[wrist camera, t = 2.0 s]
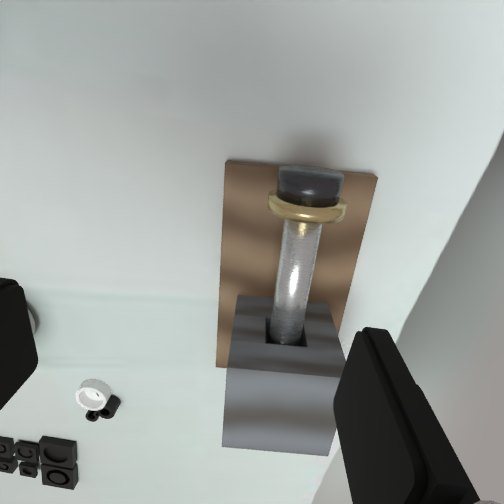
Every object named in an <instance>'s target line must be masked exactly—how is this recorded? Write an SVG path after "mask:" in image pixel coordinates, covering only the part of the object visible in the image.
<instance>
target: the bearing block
mask: <svg viewBox="0 0 504 504" xmlns="http://www.w3.org/2000/svg"><path fill="white" fill-rule="evenodd" d="M280 167H282V166H279V165H268V164H257V163H246V162H235V161H226V163H225V177H224V199H223V221H222V243H221V265H220V287H219V309H218V331H217V353H216V367H220V368H227V375H226V390H225V405H224V420H223V435H222V447H229V448H241V449H252V450H263V451H274V452H285V453H297V454H308V455H319V456H328V455H329V451H330V448H331V445H332V441H333V438H334V435H335V431H336V428H337V426H336V421H335V416H334V411H333V400H334V396H335V393H336V390H337V387H338V384H339V381H340V378H341V375H342V372H343V370H344V367H345V364H346V360H345V357H344V354H343V351H342V347H341V344H340V341H339V338H338V333H339V329H340V325H341V321H342V317H343V313H344V309H345V306H346V302H347V298H348V294H349V290H350V286H351V282H352V278H353V274H354V270H355V266H356V262H357V258H358V254H359V250H360V246H361V243H362V239H363V235H364V231H365V227H366V223H367V219H368V215H369V211H370V207H371V203H372V199H373V195H374V191H375V187H376V183H377V180H378V177H376V176H375V175H374V174H366V173H355V172H344V171H337V172H340V173H342V174H343V175H344V180H343V185H342V190H341V195H340V197H341V198H342V199H344V200H345V201H346V202H347V206H346V211H345V215H344V219H343V220H341V221H339V222H336V223H331V224H322V229H321V234H320V239H319V244H318V250H317V255H316V260H315V265H314V271H313V276H312V281H311V286H310V292H309V297H308V302H307V307H306V313H305V318H304V323H303V328H302V334H301V339H300V344H299V347H298V346H287V345H276V344H268V338H269V331H270V323H271V316H272V308H273V301H274V293H275V286H276V279H277V271H278V264H279V256H280V249H281V241H282V234H283V227H284V218H281V217H278V216H276V215H274V214H272V213H271V212H270V211H269V210H268V209H267V201H268V193H269V192H270V191H272V190H274V189H277V183H278V174H279V168H280Z"/></svg>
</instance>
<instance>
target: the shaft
mask: <svg viewBox="0 0 504 504" xmlns="http://www.w3.org/2000/svg"><path fill="white" fill-rule="evenodd" d="M343 180H344V175H343V174H342V173H340V172H337V171H334V170H331V169H326V168H321V167H314V166H305V165H286V166H282V167H280V168H279V174H278V183H277V189H274V190H272V191H270V192H269V193H268V201H267V209H268V210H269V211H270V212H271V213H272V214H274V215H276V216H278V217H281V218H284V227H283V234H282V241H281V249H280V256H279V264H278V271H277V279H276V286H275V293H274V301H273V308H272V316H271V323H270V331H269V338H268V344H276V345H287V346H298V347H299V344H300V339H301V334H302V328H303V323H304V318H305V313H306V307H307V302H308V297H309V292H310V286H311V281H312V276H313V271H314V265H315V260H316V255H317V250H318V244H319V239H320V234H321V229H322V224H331V223H336V222H339V221H341V220H343V219H344V215H345V211H346V206H347V202H346V201H345V200H344V199H342V198H341V197H340V195H341V190H342V185H343Z"/></svg>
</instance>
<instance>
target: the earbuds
mask: <svg viewBox="0 0 504 504" xmlns="http://www.w3.org/2000/svg"><path fill="white" fill-rule="evenodd" d="M111 394H112V392H111V389H110V388H109V386H108V385H107V384H105V383H104V382H102V381H99V380H88V381H85V382H84V383H83V384H82V385H81V387H80V388H79V389H78V391H77V392H76V396H75V397H76V401H77V402H78V403H79V405H80V406H82V407H83V408H85V409H88V412H87V414H86V419H87V420H89V421H92V422H94V421H96V420H97V419H98V418H99V416H101V417H102V418H105V419H110V418H112V417H113V416H114V415H115V413H116V411H117V409H118V407H119V405H120V401H119V399H118V398H117V397H115V396H112V395H111ZM39 450H40V462H41V463H42V464H41V472H42V484H43V485H48V486H54V487H60V488H66V489H71V490H74V488H75V486H76V484H77V482H78V467H77V463H76V442H73V441H68V440H62V439H57V438H52V437H47V436H42V438H41V439H40V440H39ZM39 450H38V445H33V444H28V443H22V442H16V443H15V445H14V441H13V438H8V437H2V436H0V471H1V472H6V473H11V474H13V472H14V471H15V470H16V468H17V467H18V462H17V460H21V461H26V462H21V463H20V464H19V470H20V475H22V476H27V477H33V478H36V476H37V475H38V471H37V464H33V463H38V461H39ZM14 453H15V456H13V455H14ZM27 462H31V463H27Z"/></svg>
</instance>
